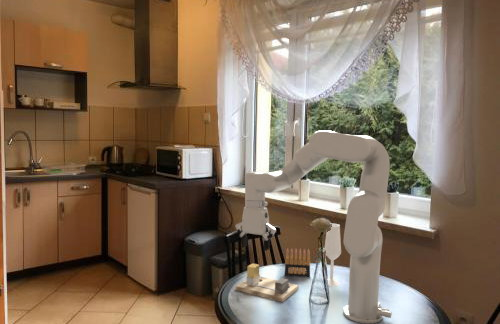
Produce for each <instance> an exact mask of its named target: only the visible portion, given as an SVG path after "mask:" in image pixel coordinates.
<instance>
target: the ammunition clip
mask: <svg viewBox="0 0 500 324" xmlns="http://www.w3.org/2000/svg"><path fill="white" fill-rule="evenodd" d="M289 251H290V252H289ZM284 263H285V264H284V277H292V278H293V277H295V278H297V277H299V278H311V252H310V249H309V248H308V249H307V251H306V248H303V251H302V249H301V247H300V248H299V250H298V249H297V248H295V249H294V250H293V248H290V250H289V248H288V247H287V248H286V251H285V261H284Z"/></svg>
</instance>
